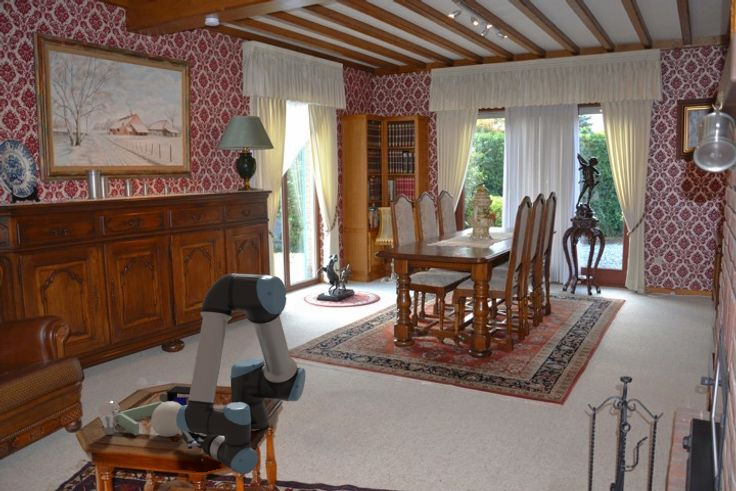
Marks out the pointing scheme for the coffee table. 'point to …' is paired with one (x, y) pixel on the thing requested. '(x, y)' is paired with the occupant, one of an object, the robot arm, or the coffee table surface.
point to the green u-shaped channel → (135, 416)
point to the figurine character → (172, 395)
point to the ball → (166, 419)
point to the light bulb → (109, 415)
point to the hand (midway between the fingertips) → (180, 424)
